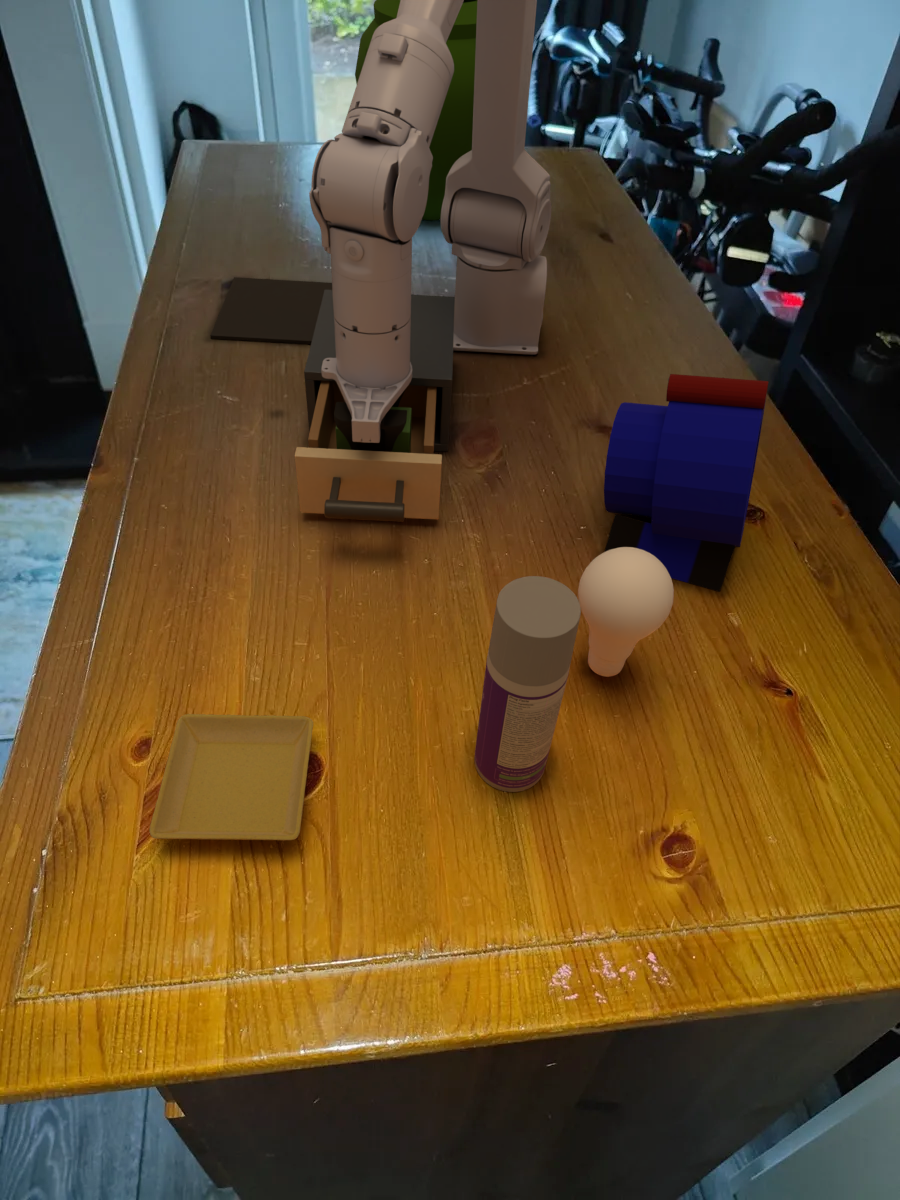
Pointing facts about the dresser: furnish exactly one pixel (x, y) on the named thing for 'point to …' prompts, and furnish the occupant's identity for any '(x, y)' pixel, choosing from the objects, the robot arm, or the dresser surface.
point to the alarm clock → (686, 474)
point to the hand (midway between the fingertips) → (375, 461)
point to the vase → (459, 101)
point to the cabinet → (426, 354)
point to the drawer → (370, 466)
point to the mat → (270, 310)
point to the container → (525, 680)
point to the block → (400, 444)
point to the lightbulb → (622, 604)
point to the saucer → (234, 778)
